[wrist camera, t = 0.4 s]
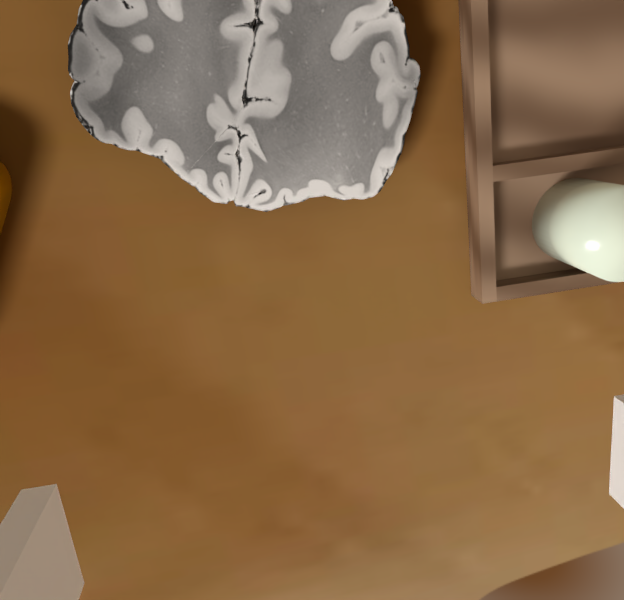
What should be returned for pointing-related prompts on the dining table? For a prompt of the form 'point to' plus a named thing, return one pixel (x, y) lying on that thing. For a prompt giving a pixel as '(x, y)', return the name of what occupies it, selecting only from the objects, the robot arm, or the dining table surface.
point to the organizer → (535, 128)
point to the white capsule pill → (583, 226)
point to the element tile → (4, 193)
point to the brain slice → (250, 92)
